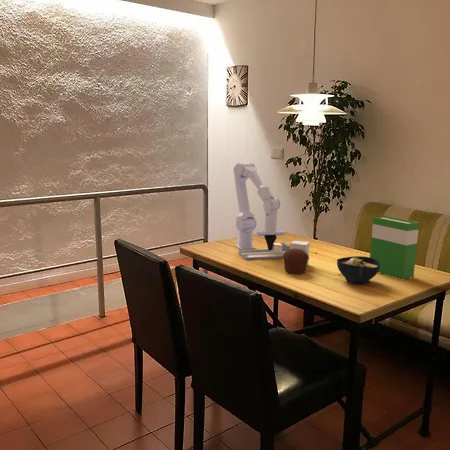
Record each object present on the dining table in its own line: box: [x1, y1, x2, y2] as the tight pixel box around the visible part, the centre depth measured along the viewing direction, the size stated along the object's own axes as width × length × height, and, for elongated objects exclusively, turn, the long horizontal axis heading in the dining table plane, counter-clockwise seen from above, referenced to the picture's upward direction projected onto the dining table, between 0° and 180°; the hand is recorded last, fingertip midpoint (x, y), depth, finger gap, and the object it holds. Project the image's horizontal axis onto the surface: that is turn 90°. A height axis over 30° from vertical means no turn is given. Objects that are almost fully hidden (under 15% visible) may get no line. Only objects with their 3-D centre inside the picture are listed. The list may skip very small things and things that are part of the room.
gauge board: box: [238, 241, 290, 261], centre depth 234 cm, size 12×24×5 cm, turn 104°
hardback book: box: [369, 215, 420, 280], centre depth 208 cm, size 18×7×24 cm, turn 34°
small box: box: [289, 240, 310, 266], centre depth 219 cm, size 8×6×10 cm
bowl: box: [336, 255, 380, 286], centre depth 196 cm, size 17×17×10 cm
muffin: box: [282, 249, 310, 276], centre depth 208 cm, size 12×11×10 cm
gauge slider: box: [271, 242, 282, 252], centre depth 236 cm, size 8×4×4 cm, turn 14°
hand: (269, 249), depth 237 cm, fingers closed
